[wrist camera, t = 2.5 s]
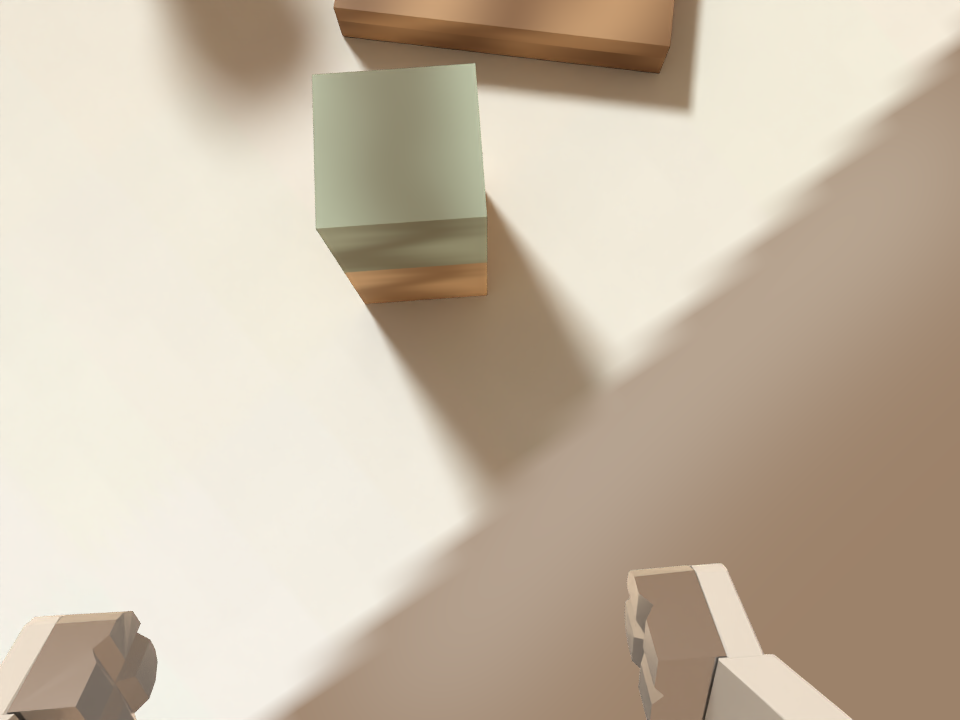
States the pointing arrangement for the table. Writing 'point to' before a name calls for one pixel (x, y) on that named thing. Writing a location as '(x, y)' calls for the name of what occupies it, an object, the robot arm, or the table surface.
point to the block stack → (402, 181)
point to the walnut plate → (523, 28)
